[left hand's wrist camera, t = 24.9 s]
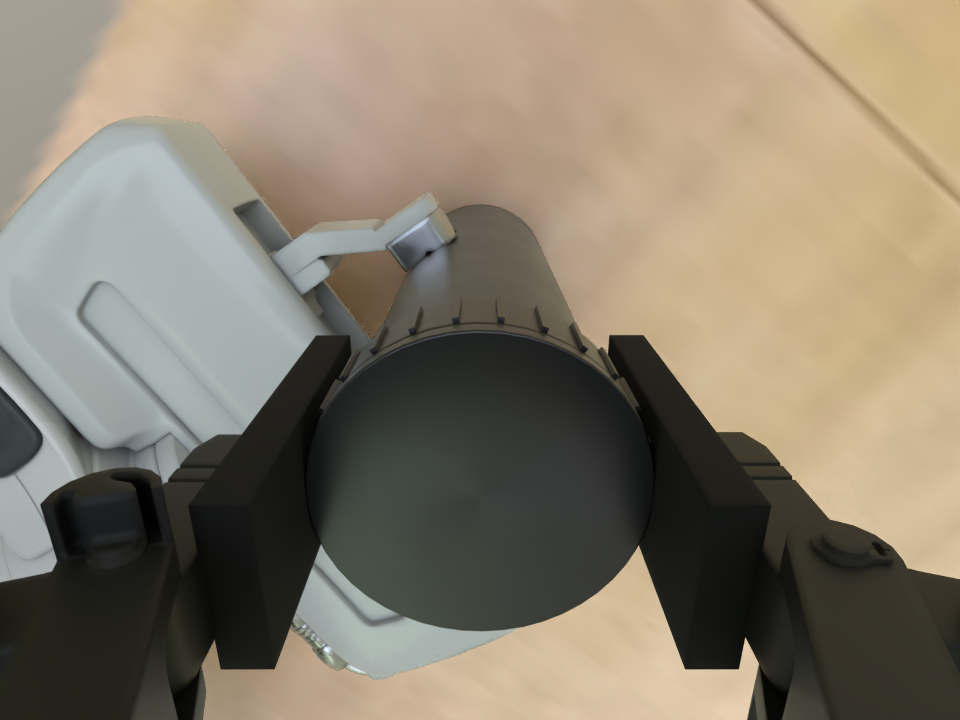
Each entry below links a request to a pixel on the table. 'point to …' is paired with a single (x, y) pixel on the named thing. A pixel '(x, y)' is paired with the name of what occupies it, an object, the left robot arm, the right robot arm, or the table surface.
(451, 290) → the dark grey cylinder
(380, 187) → the table surface
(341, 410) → the lid
